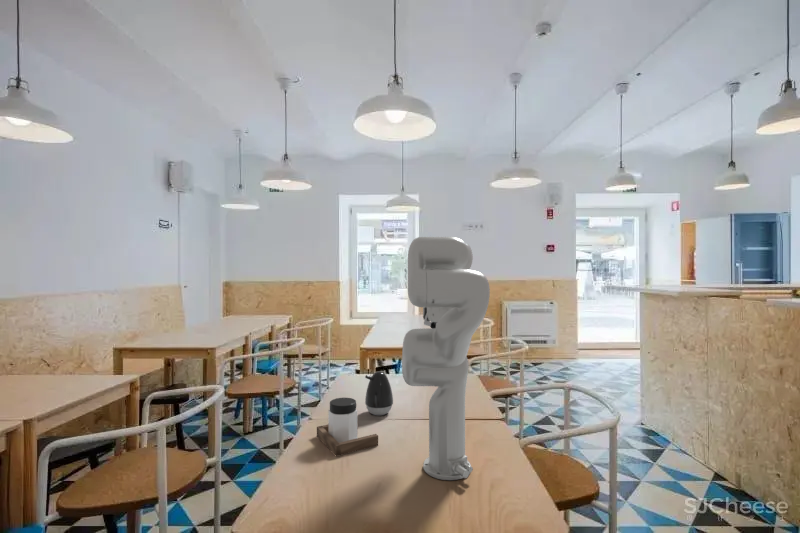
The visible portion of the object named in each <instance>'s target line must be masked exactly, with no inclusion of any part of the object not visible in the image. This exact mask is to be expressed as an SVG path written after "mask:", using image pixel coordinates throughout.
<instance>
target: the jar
mask: <svg viewBox="0 0 800 533" xmlns="http://www.w3.org/2000/svg"><path fill="white" fill-rule="evenodd" d="M327 413H328V414H327V415H328V419H327V420H328V421H327V422H328V424H327V425H328V433H329V434H330V435H331V436H332V437H333V438H335V439H336V440H337V441H338V442H339V443H340V442H344V441H348V440H352V439H356V438H358V429H357V420H358V409H357V401H356V399H354V398H352V397H337V398H334V399H332V400H330V401H329V409H328V411H327Z"/></svg>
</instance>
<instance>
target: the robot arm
mask: <svg viewBox="0 0 800 533" xmlns="http://www.w3.org/2000/svg"><path fill="white" fill-rule="evenodd" d="M472 250H473V249H472V248H471V246H470V245H469V244H467V243H466V242H465V241H464V240H462V239H461V238H459V237H455V236H418V237H416V238H414V239H413V240H412V242H411V243H410V245H409V247H408V250H407V251H408V252H407V294H408V296H407V297H408V299H409V302H410V303H411V305H413V306H414V307H417V308H422V317H423V320H424V321H423V325H424V326H427V327H430V328H413V329H410V330H409V331H407V332H406V333H405V334H404V337H403V343H402V354H401V355H402V356H401V359H402V360H401V372H402V377H403V379H404V382H405V383H406V385H409V386H412V387H437V388H436V389H435V391H434V392H433V394H432V395H431V397H430V399H429V403H428V448H429V449H428V456H427V457H426V458H425V460H424V461H423V463H422V465H423V467H422V469H423V470H424V472H425V474H427V475H429V476H430V477H433V478H434V479H437V480H442V481H458V480H461V479H467V478H468V477H469V476H470V474H471V473H472V472H473V470H474V469H473V467H472V465H471V463H470V461H469V460H468V455H466V391H467V390H466V389H467V381H468V375H469V360H468V357H467V356H468V353H469V349H470V347H471V343H472V342H471V341H472V338H473V336H474V334H475V333H476V331H477V330H478V328H479V327H480V326H481V324H482V322H483V321H484V318H485V317H486V314H487V312H488V311H487V310H488V308H489V303H490V293H491V292H490V291H491V289H490V288H491V286H490V283H489V280H488V278H487V277H486V276H485V275H484V273H481V272H480V271H477V270H473V269H471V267H472V264H473V259H474V258H473V252H472Z"/></svg>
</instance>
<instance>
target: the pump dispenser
mask: <svg viewBox="0 0 800 533" xmlns="http://www.w3.org/2000/svg"><path fill="white" fill-rule="evenodd" d="M365 379H366V380H367V379H368V380H369V382H368V385H367V388H366V392H365V402H364V404H365V407H366V409H367V411H368V412H369V413H370V414H371V415H374V416H385V415H387V414H388V413H389V412H390V411H391V409H392V407H393V405H394V397H393V396H394V395H393V390H392V387H391V383H390V381H389V379H388V377H387V375H386V373H384V371H381V370H379V371H375V372H374V373H373V374H372V375H367V374H366V375H365Z"/></svg>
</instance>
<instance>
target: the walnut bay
mask: <svg viewBox="0 0 800 533" xmlns="http://www.w3.org/2000/svg"><path fill="white" fill-rule="evenodd" d="M358 422H359V421H358V419H357V430H358V428H359V426H358ZM316 437H317V438H318V439H319V440H320V441H321V443H323V445H324V446H325V447H326V448H327V449H328V448H329V449H330V450H331V451H332V452H333V453H334V454H335V455H336V456H335V455H334V454H333V453H332V452H331V451H330V450H329V449H328V450H329V451H330V452H331V453H332V454H333V455H334V456H335V457H338V456H343V455H347V454H351V453H355V452H359V451H362V450H366V449H371V448H374V447H378V446H379V435H378V434H377V433H374V434H370V435H365V436H361V437H357V438H356V439H352V440H348V441H344V442H340V443H339V442H338V441H337V440H336V439H335V438H333V437H332V436H331V435H330V434H329V433H328V424H324V425H319V426H316Z"/></svg>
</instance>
